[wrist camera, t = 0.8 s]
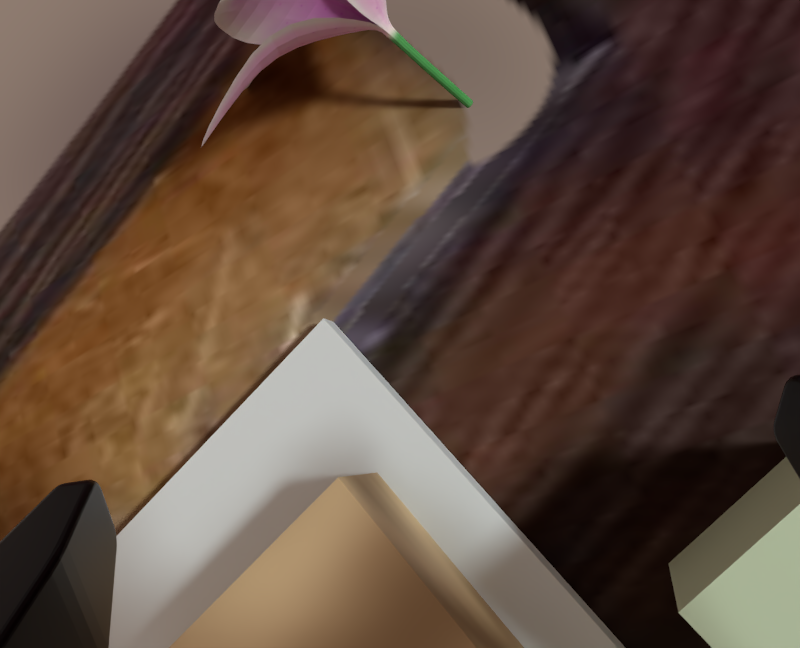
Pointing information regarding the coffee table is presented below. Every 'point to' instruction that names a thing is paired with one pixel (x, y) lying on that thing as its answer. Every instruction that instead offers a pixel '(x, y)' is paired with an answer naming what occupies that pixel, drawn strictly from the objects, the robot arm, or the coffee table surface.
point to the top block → (746, 569)
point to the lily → (304, 35)
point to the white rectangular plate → (304, 482)
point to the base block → (351, 584)
